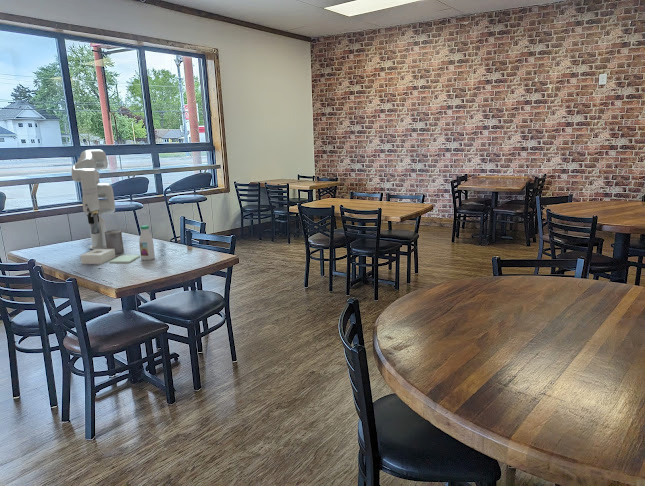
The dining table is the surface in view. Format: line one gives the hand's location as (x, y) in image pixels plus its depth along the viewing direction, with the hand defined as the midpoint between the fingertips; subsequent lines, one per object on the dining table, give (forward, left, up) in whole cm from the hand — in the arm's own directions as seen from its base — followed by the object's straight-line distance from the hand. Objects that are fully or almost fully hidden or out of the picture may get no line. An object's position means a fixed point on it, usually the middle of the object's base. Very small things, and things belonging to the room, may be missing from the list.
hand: (94, 222), depth 265 cm
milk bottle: (-2, +29, -23) cm, 37 cm away
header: (0, 0, -23) cm, 23 cm away
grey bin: (-18, +1, -23) cm, 29 cm away
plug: (0, 0, -6) cm, 6 cm away
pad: (0, +16, -23) cm, 28 cm away
